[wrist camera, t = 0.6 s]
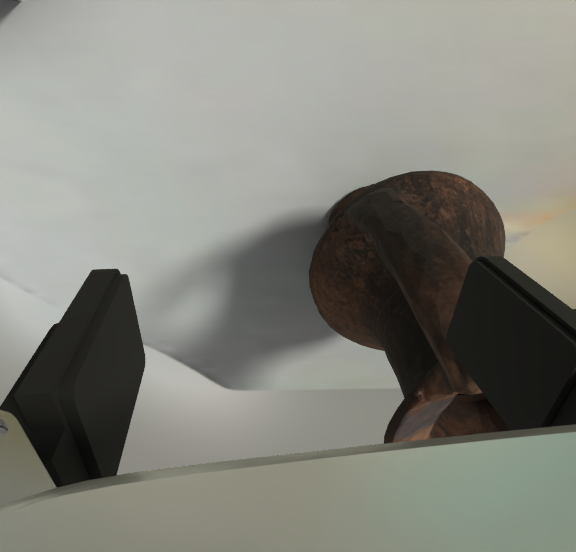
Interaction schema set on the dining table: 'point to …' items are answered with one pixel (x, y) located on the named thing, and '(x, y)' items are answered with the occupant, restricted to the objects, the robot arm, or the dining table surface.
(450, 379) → the jug
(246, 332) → the dining table surface
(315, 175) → the dining table surface
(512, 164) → the dining table surface
